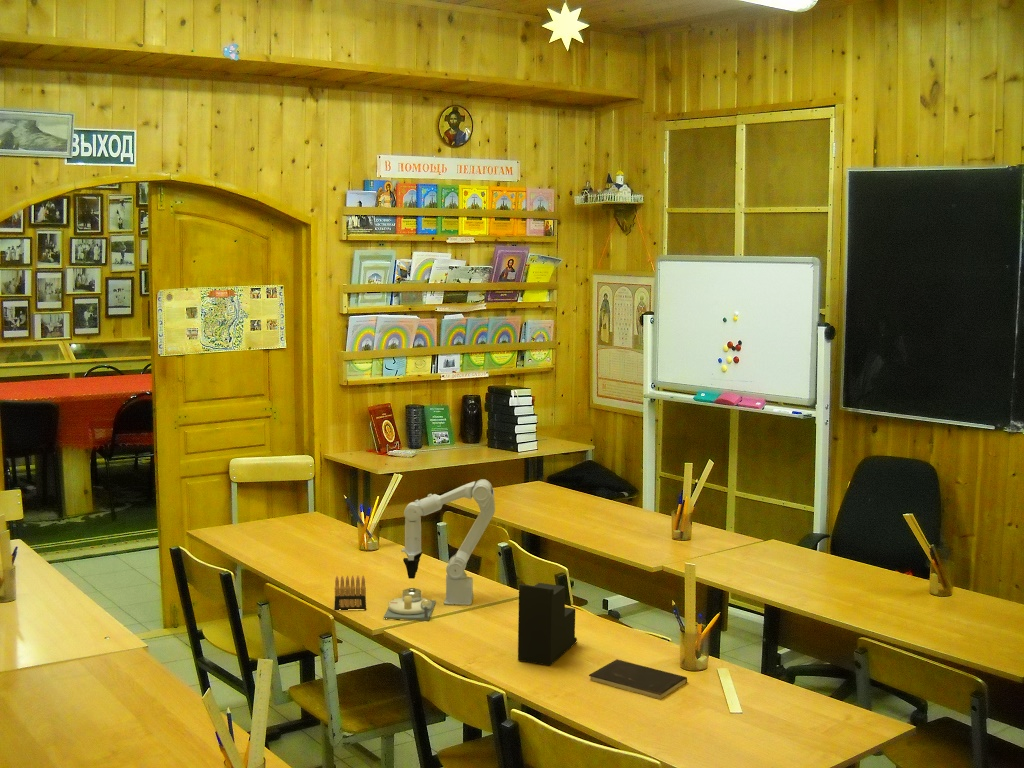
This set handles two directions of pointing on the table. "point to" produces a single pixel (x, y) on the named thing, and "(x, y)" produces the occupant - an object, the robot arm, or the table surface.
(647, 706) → the table surface
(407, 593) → the cover
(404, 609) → the turntable
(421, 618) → the base plate
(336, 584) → the ammunition clip
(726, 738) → the table surface
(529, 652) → the bookend
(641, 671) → the hardcover book
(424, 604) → the dial gauge
